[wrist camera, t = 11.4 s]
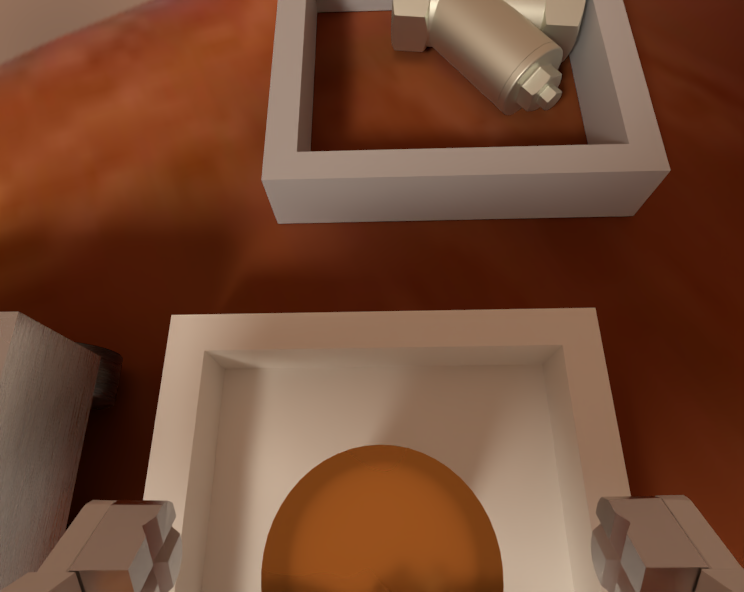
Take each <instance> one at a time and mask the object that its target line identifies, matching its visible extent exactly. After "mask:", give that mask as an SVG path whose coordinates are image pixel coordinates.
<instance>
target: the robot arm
mask: <svg viewBox="0 0 744 592" xmlns="http://www.w3.org/2000/svg"><path fill="white" fill-rule="evenodd" d="M596 515H597V517H598V519H599V521H600V524H599V525H598V526H597V527H596V528H595V529H594V530H593V531H592V538H591V554H592V562H593V565H594V569H595V572H596V575H597V577H598V579H599V582H600V584H601V586H602V587H604V588H605V589H606V590H607V591H608V592H744V569H743V568H742V567H741V566H740V564H739V563H738V562H737V560H736V559H735V558H734V556H733V555H732V554H731V552H730V551H729V550H728V549H727V547H726V546H725V545H724V543H723V542H722V541H721V539H720V538H719V537H718V535H717V534H716V533H715V531H714V530H713V529H712V527H711V526H710V525H709V524H708V522H707V521H706V520H705V518H704V517H703V516H702V514H701V513H700V512H699V510H698V509H697V508H696V506H695V505H694V504H693V503H692V501H691V500H690V499H689V498H687V497H686V496H684V495H659V496H615V497H601V498H600V500H599V501H598V503H597V509H596ZM175 518H176V513H175V509H174V505H173V503H172V502H170V501H160V500H92V501H90V502H88V503H87V504H85V505H84V507H83V508H82V509H81V511H80V512H79V514H78V515H77V516H76V518H75V519H74V521H73V522H72V523H71V525H70V526H69V528H68V529H67V530H66V532H65V533H64V535H63V536H62V537H61V539H60V540H59V542H58V543H57V544H56V546H55V547H54V549H53V550H52V551H51V553H50V554H49V555H48V557H47V558H46V560H45V561H44V562H43V564H42V565H41V567H40V568H39V569H38V571H37V572H28V573H27V574H25V575H24V576H22V577H21V578H19V579H17V580H16V581H14V582H13V583H11V584H10V585H8V586H7V587H5V588H4V589H2V590H1V591H0V592H168V591H170V590H171V589H172V588H173V587H174V585H175V582H176V580H177V577H178V574H179V571H180V566H181V561H182V540H181V535H180V533H179V532H178V531H177V530H175V529H174V528H173V527H172V524H173V522H174V520H175Z"/></svg>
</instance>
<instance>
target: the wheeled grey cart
mask: <svg viewBox="0 0 744 592" xmlns="http://www.w3.org/2000/svg"><path fill="white" fill-rule="evenodd" d="M122 362H123V358H122V356H121V355H119V354H118V353H116V352H114V351H111V350H109V349H106V348H102V347H98V346H94V345H89V344H83V343H77V342H73V341H71V340H70V339H68V338H66V337H64V336H62V335H61V334H59V333H57V332H55V331H53V330H51V329H50V328H48V327H46V326H44V325H42V324H41V323H39V322H37V321H35V320H33V319H31V318H30V317H28V316H26V315H24V314H22V313H21V312H0V591H1V590H2V589H4V588H5V587H7V586H8V585H10V584H11V583H13V582H14V581H16V580H17V579H19V578H21V577H22V576H24V575H25V574H27V573H28V572H37V571H38V569H39V568H40V567H41V565H42V564H43V562H44V561H45V560H46V558H47V557H48V555H49V554H50V553H51V551H52V550H53V549H54V547H55V546H56V544H57V543H58V542H59V540H60V539H61V537H62V536H63V535H64V533H65V531H66V526H67V521H68V516H69V511H70V506H71V501H72V496H73V491H74V486H75V482H76V477H77V472H78V467H79V462H80V457H81V452H82V447H83V442H84V437H85V433H86V428H87V423H88V418H89V413H90V410H95V409H106V408H110V407H113V406H114V405H115V399H116V394H117V388H118V383H119V378H120V372H121V367H122Z"/></svg>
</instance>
